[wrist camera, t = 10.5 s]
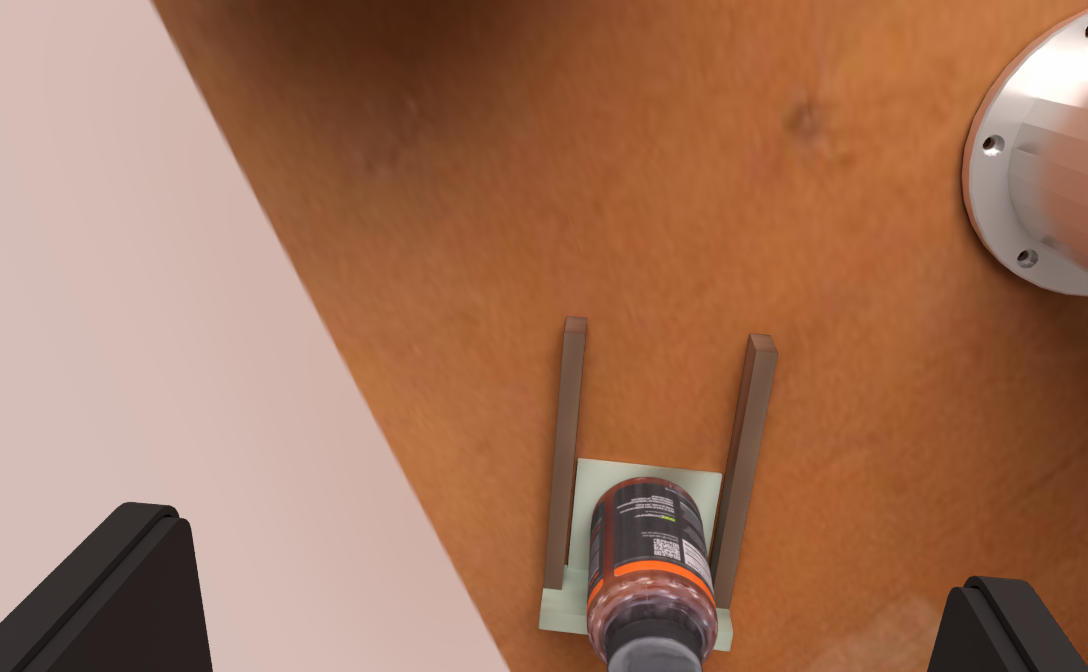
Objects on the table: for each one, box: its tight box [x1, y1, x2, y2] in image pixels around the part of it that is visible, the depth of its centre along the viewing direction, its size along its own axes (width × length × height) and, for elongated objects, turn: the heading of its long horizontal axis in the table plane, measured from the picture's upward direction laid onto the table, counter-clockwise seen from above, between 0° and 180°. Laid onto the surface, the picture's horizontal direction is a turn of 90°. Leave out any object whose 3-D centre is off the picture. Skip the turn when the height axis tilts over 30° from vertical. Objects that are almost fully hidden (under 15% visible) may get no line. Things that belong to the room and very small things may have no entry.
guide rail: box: [539, 316, 778, 651], centre depth 42 cm, size 10×16×4 cm, turn 176°
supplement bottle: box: [587, 477, 718, 672], centre depth 39 cm, size 6×6×11 cm
